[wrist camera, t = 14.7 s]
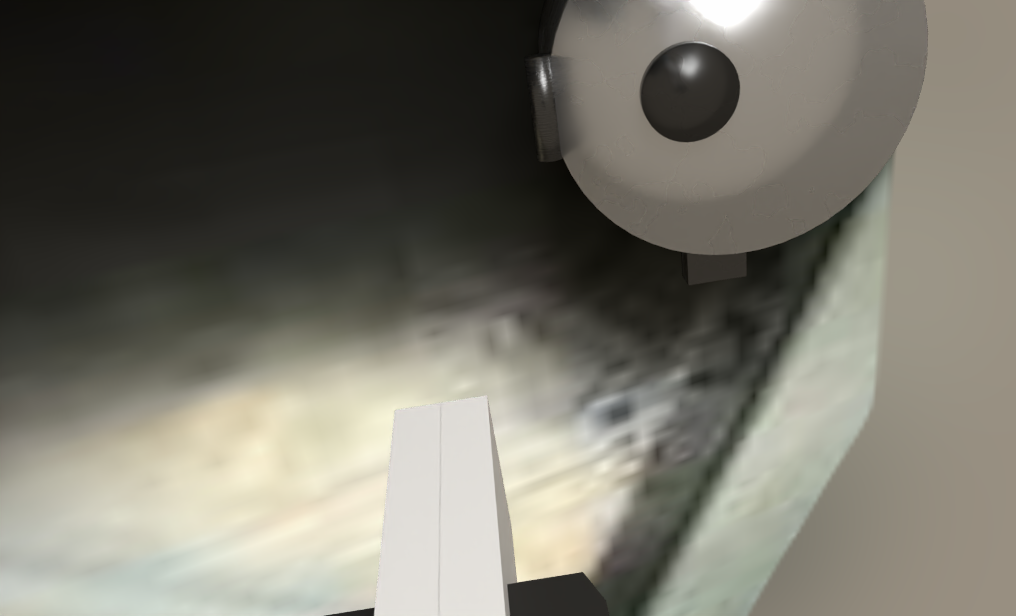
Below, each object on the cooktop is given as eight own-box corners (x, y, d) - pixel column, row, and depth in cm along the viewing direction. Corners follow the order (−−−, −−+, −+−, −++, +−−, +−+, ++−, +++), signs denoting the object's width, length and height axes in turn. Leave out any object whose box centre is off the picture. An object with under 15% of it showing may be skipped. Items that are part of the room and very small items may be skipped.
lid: (552, 268, 39) (553, 284, 37) (505, -91, 32) (504, -90, 30) (901, 223, 37) (919, 238, 36) (934, -160, 30) (957, -163, 29)
